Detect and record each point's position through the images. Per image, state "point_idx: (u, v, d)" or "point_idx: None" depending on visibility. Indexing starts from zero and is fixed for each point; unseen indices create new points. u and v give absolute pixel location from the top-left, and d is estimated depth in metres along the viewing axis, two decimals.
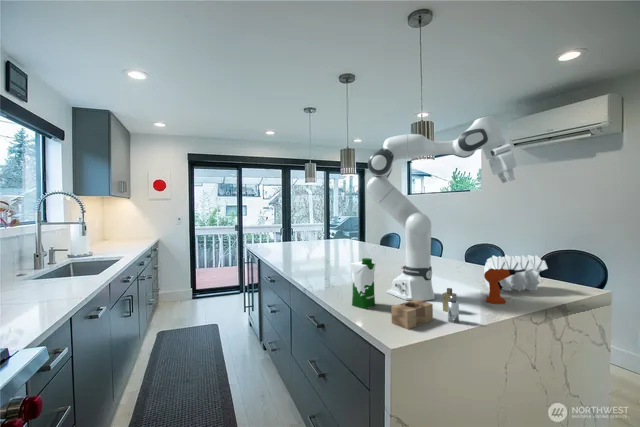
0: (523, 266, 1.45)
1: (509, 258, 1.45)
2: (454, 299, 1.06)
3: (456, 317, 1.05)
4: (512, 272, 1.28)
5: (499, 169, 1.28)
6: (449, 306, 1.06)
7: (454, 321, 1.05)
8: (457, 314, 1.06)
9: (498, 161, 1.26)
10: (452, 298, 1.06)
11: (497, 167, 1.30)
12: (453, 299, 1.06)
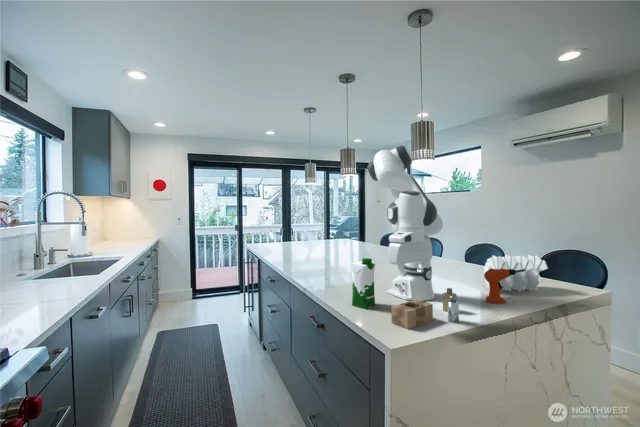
0: (523, 266, 1.45)
1: (509, 258, 1.45)
2: (454, 299, 1.06)
3: (456, 317, 1.05)
4: (512, 272, 1.28)
5: None
6: (449, 306, 1.06)
7: (454, 321, 1.05)
8: (457, 314, 1.06)
9: None
10: (452, 298, 1.06)
11: None
12: (453, 299, 1.06)
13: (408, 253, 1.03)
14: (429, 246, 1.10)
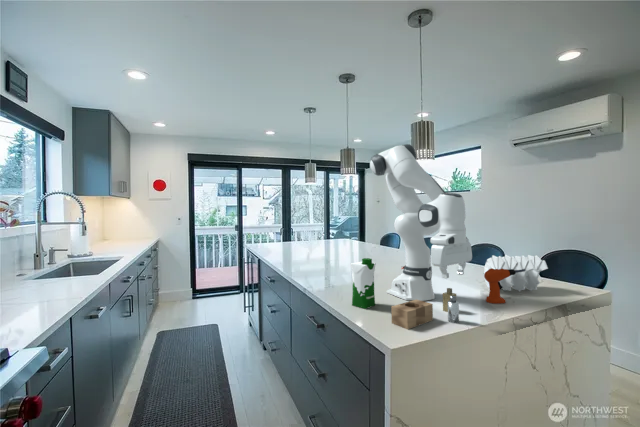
0: (523, 266, 1.45)
1: (509, 258, 1.45)
2: (454, 299, 1.06)
3: (456, 317, 1.05)
4: (512, 272, 1.28)
5: None
6: (449, 306, 1.06)
7: (454, 321, 1.05)
8: (457, 314, 1.06)
9: None
10: (452, 298, 1.06)
11: None
12: (453, 299, 1.06)
13: (450, 255, 1.03)
14: (469, 248, 1.10)
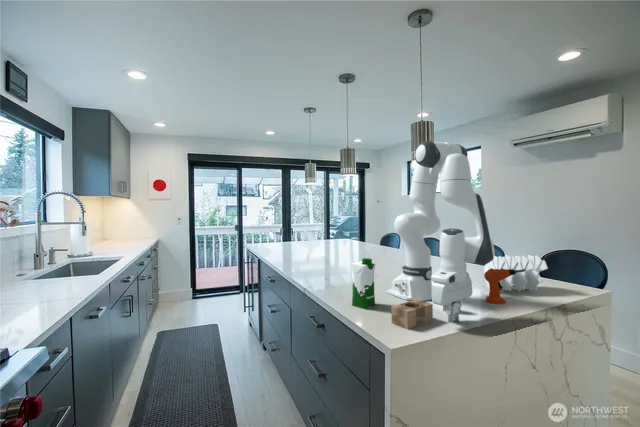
0: (523, 266, 1.45)
1: (509, 258, 1.45)
2: None
3: (456, 317, 1.05)
4: (512, 272, 1.28)
5: None
6: None
7: (454, 321, 1.05)
8: (457, 314, 1.06)
9: None
10: None
11: None
12: None
13: (451, 293, 1.03)
14: (470, 284, 1.10)
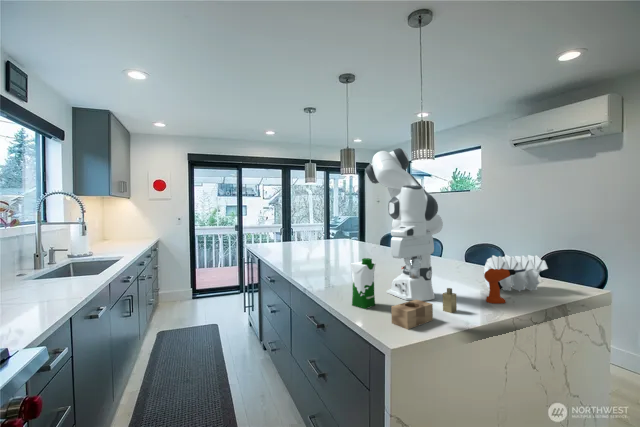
0: (523, 266, 1.45)
1: (509, 258, 1.45)
2: None
3: (417, 272, 1.05)
4: (512, 272, 1.28)
5: None
6: None
7: (415, 277, 1.05)
8: (418, 270, 1.05)
9: None
10: None
11: None
12: None
13: (410, 247, 1.03)
14: (431, 241, 1.10)
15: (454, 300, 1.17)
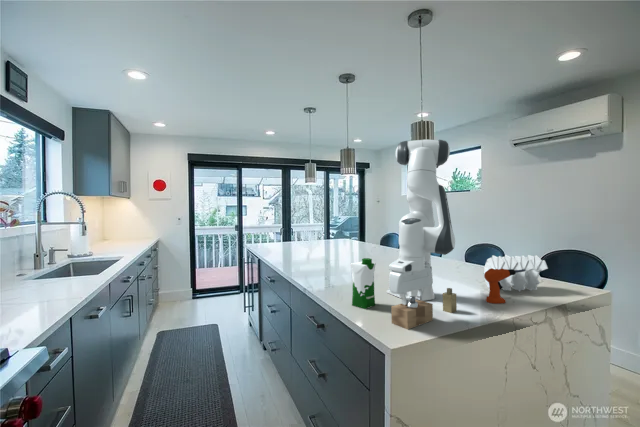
0: (523, 266, 1.45)
1: (509, 258, 1.45)
2: (413, 300, 1.06)
3: None
4: (512, 272, 1.28)
5: None
6: None
7: None
8: None
9: None
10: (411, 299, 1.06)
11: None
12: (412, 300, 1.06)
13: (408, 282, 1.03)
14: (430, 274, 1.10)
15: (454, 300, 1.17)
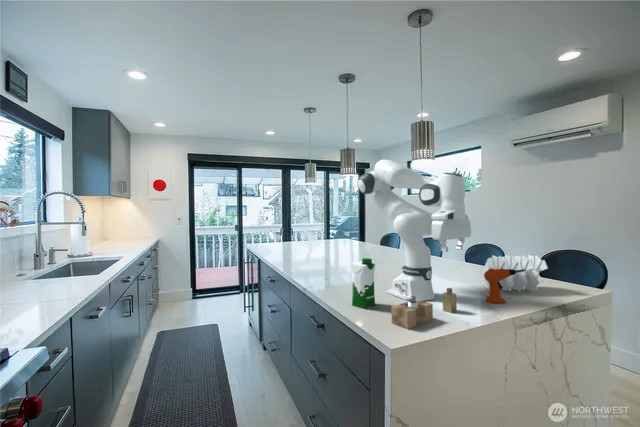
0: (523, 266, 1.45)
1: (509, 258, 1.45)
2: (413, 300, 1.06)
3: None
4: (512, 272, 1.28)
5: None
6: (408, 306, 1.06)
7: None
8: None
9: None
10: (412, 299, 1.06)
11: None
12: (412, 300, 1.06)
13: (449, 230, 1.11)
14: (468, 225, 1.17)
15: (454, 300, 1.17)
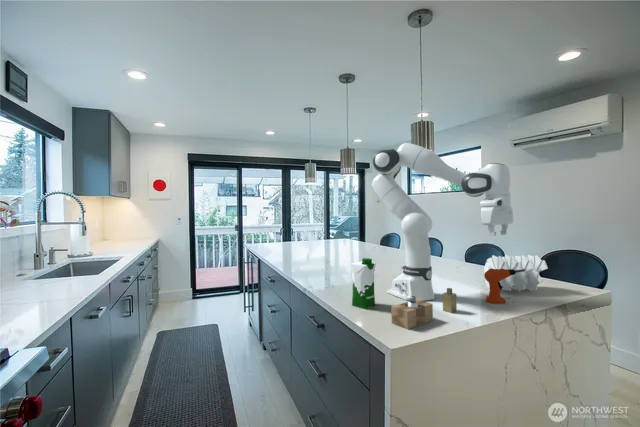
0: (523, 266, 1.45)
1: (509, 258, 1.45)
2: (414, 300, 1.06)
3: None
4: (512, 272, 1.28)
5: None
6: None
7: None
8: None
9: None
10: (412, 299, 1.06)
11: None
12: (413, 300, 1.06)
13: (497, 216, 1.20)
14: (511, 212, 1.27)
15: (454, 300, 1.17)
